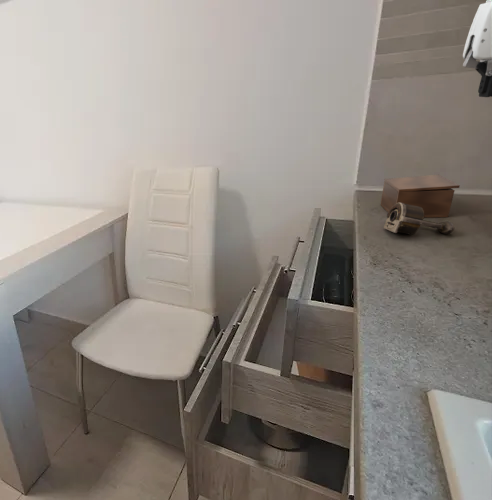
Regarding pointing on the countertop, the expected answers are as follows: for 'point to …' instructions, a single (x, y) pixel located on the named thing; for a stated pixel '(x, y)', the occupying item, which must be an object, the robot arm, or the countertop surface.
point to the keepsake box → (419, 200)
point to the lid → (421, 183)
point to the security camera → (412, 220)
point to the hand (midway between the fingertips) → (487, 96)
